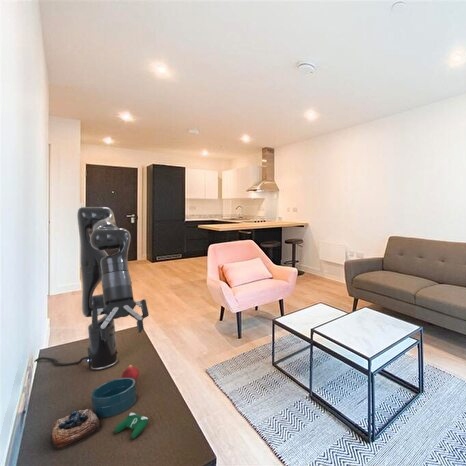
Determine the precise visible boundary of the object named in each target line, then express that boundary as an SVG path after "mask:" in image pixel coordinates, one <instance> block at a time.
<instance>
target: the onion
mask: <svg viewBox="0 0 466 466" xmlns="http://www.w3.org/2000/svg"><path fill="white" fill-rule="evenodd" d="M139 377H140V370H139V369H138V368H137V367H135V366H133V365H132V364H130V365H129V366H128V367H127V368H126V369H124V371H123V372H122V375H121V378H132V379H135V382H136V381H137V380H138V379H139Z"/></svg>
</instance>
